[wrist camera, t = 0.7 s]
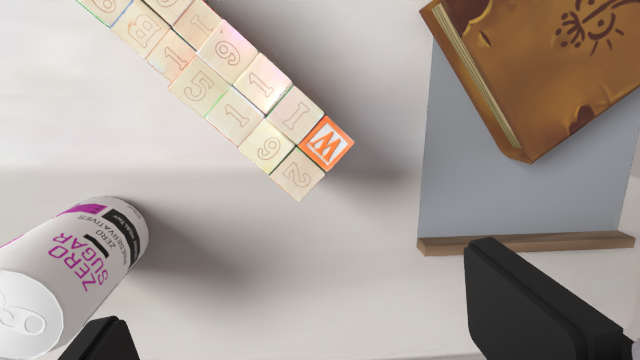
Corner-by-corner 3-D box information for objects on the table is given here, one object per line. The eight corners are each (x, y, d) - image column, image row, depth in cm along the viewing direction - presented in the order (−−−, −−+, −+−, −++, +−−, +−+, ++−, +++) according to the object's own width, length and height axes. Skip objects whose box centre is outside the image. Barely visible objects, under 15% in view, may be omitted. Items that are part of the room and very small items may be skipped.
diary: (502, 156, 41) (536, 166, 35) (418, 11, 36) (442, -3, 30) (676, 31, 39) (741, 22, 34) (612, -137, 34) (676, -181, 29)
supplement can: (59, 250, 38) (-79, 348, 23) (84, 181, 36) (-45, 241, 22) (135, 277, 39) (51, 385, 25) (162, 212, 38) (90, 287, 24)
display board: (446, -132, 33) (460, -151, 31) (690, -112, 36) (723, -129, 33) (415, 246, 42) (424, 256, 40) (612, 238, 45) (633, 247, 43)
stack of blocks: (125, 20, 33) (39, -20, 21) (168, -33, 33) (104, -103, 21) (293, 169, 39) (299, 205, 27) (333, 127, 38) (357, 144, 26)
